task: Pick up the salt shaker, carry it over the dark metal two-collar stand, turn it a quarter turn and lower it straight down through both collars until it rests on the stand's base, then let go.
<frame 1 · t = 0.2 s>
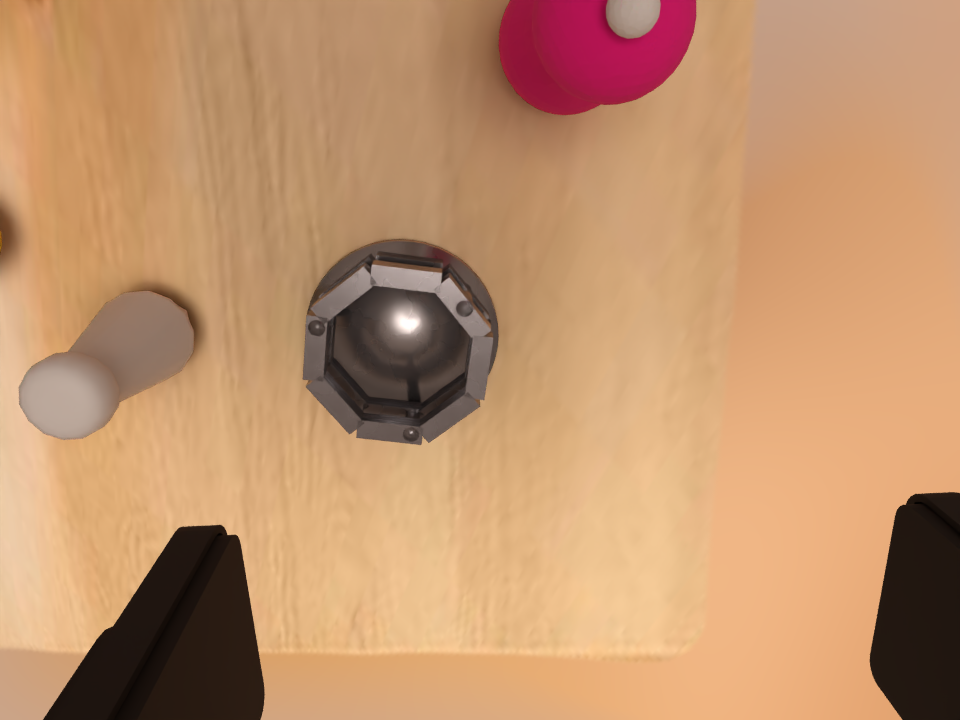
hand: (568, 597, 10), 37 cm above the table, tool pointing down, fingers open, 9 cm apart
collar stand: (403, 333, 48), on the table
salt shaker: (161, 324, 47), on the table
pepper mill: (556, 47, 42), on the table
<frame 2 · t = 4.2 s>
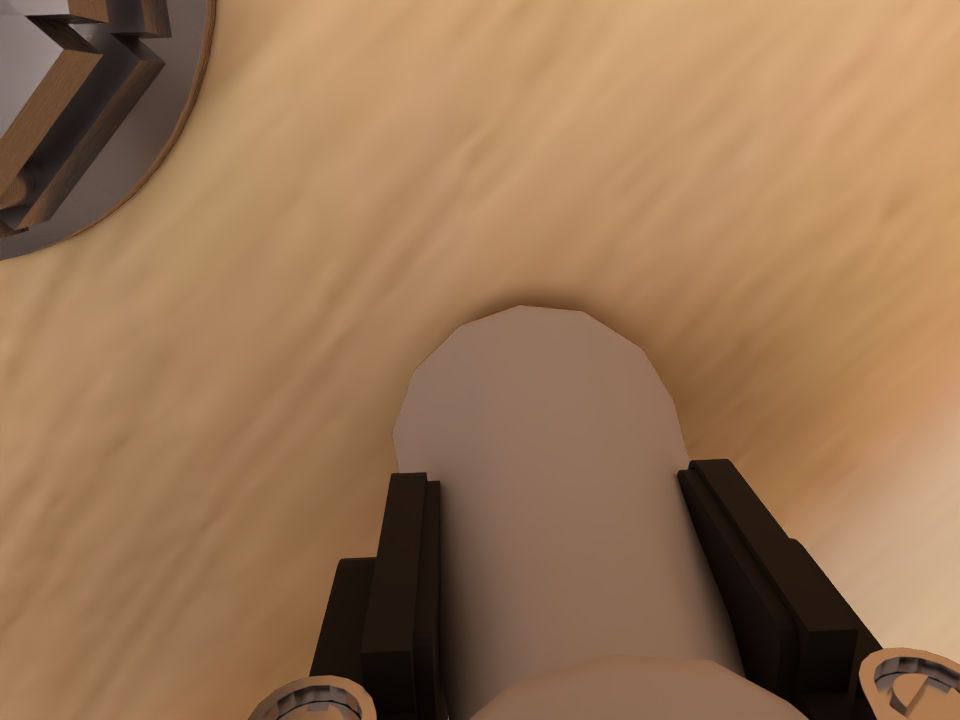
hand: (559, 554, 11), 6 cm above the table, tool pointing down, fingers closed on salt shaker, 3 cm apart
salt shaker: (523, 396, 17), on the table, touching gripper
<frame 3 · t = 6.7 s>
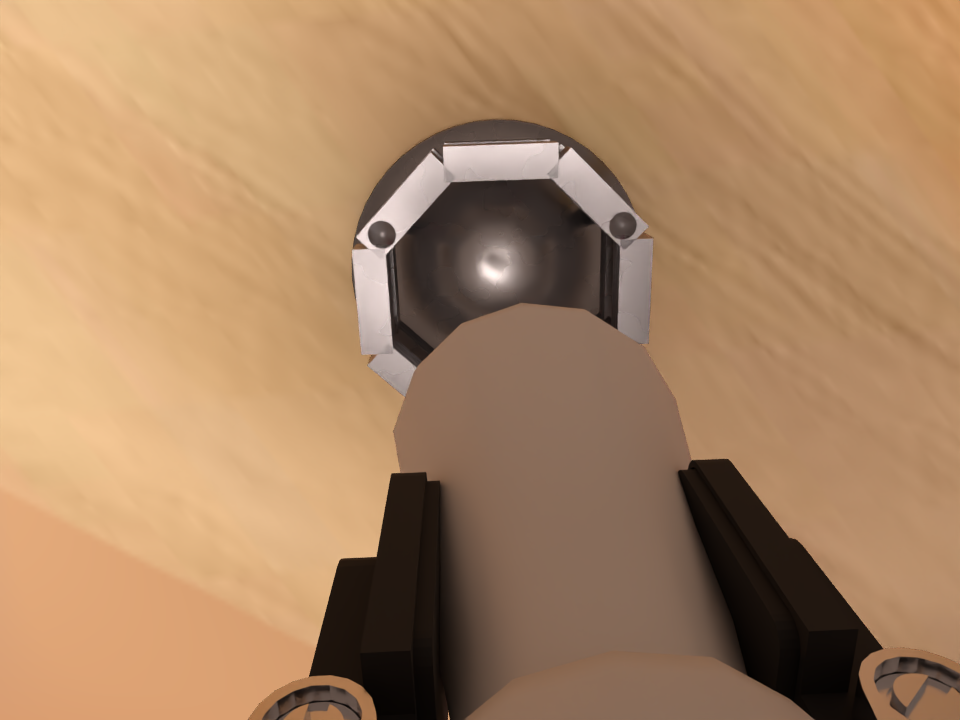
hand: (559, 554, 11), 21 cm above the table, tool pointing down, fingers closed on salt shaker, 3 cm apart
collar stand: (497, 270, 31), on the table
salt shaker: (525, 394, 17), point 15 cm above the table, touching gripper
when the fingers open (8 cm above the table, at t = 9.6 s): salt shaker stays where it is, resting on collar stand.
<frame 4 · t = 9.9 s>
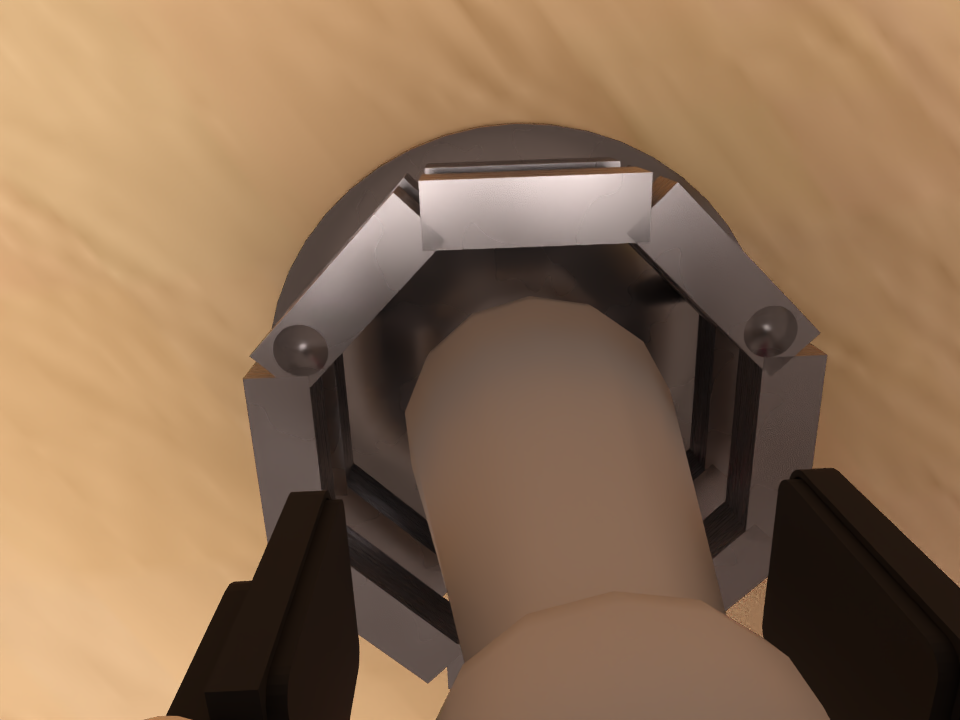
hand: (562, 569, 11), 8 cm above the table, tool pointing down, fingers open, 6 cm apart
collar stand: (518, 376, 19), on the table
salt shaker: (527, 384, 18), resting on collar stand
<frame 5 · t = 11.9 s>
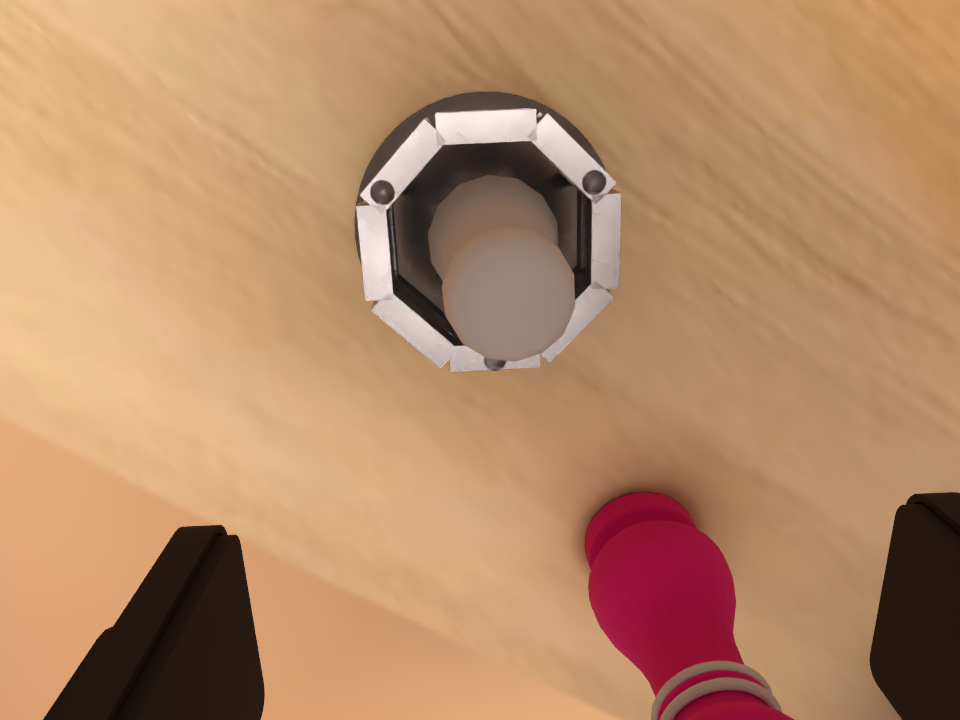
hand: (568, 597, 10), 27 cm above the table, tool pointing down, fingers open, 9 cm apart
collar stand: (485, 228, 35), on the table
salt shaker: (490, 231, 35), resting on collar stand
pepper mill: (637, 536, 42), on the table
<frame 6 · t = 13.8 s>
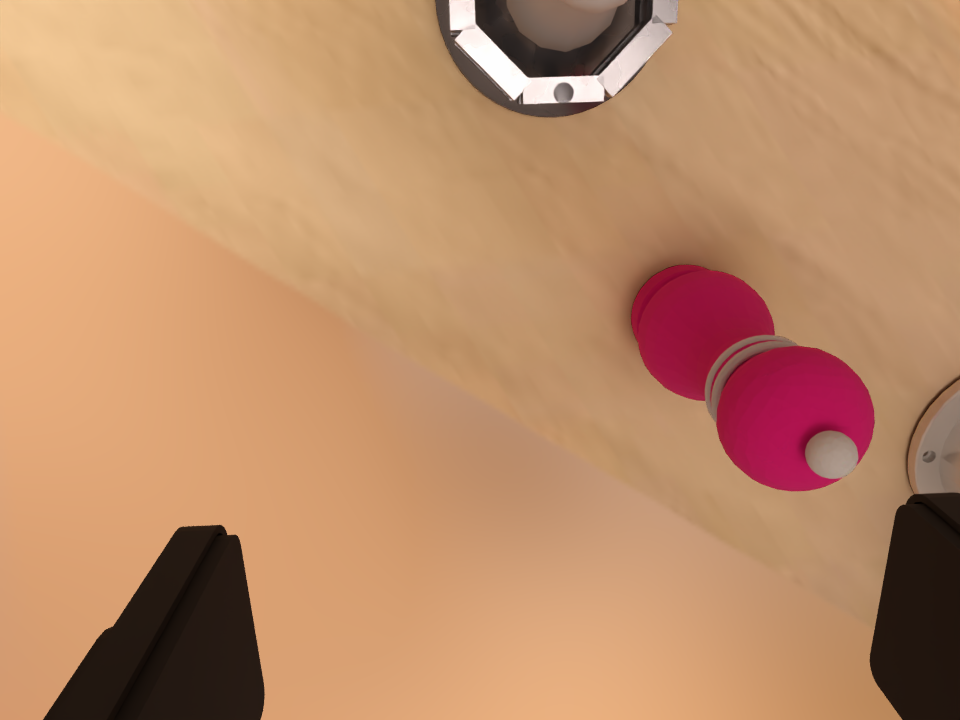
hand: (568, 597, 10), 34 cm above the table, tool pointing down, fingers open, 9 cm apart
pepper mill: (679, 312, 45), on the table
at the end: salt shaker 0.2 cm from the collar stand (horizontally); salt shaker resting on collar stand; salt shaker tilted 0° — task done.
